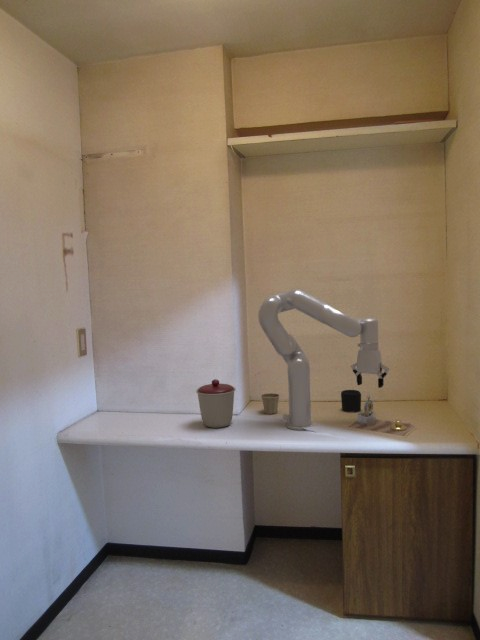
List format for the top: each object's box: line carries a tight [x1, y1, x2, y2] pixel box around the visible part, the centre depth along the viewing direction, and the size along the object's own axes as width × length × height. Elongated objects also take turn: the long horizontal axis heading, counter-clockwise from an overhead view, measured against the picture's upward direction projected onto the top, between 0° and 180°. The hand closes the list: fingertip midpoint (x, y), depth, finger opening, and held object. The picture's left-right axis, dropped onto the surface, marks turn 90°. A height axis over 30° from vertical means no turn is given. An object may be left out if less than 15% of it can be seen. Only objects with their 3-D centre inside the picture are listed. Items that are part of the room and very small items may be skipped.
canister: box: [195, 378, 236, 429], centre depth 224 cm, size 18×18×21 cm
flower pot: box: [260, 392, 281, 415], centre depth 241 cm, size 9×9×9 cm
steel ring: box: [357, 411, 377, 426], centre depth 212 cm, size 7×7×4 cm
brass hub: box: [390, 419, 407, 431], centre depth 204 cm, size 7×7×3 cm
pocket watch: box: [363, 394, 374, 413], centre depth 226 cm, size 8×8×10 cm
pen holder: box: [340, 389, 362, 413], centre depth 235 cm, size 9×9×10 cm
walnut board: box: [347, 419, 417, 437], centre depth 208 cm, size 24×16×1 cm, turn 52°
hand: (369, 385), depth 212 cm, fingers open, 9 cm apart
